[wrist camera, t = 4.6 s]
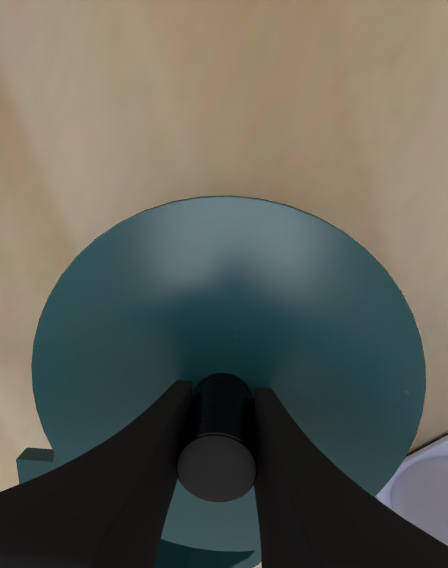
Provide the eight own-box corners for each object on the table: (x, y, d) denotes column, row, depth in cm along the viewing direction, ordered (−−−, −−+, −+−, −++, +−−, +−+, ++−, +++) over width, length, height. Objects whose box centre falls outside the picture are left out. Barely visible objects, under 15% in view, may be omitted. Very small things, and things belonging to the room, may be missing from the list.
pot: (301, 510, 24) (321, 601, 19) (72, 492, 25) (21, 573, 19) (321, 353, 21) (352, 402, 15) (59, 336, 22) (-6, 378, 16)
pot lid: (378, 539, 14) (442, 681, 10) (63, 514, 14) (-10, 637, 10) (444, 205, 10) (587, 193, 6) (30, 191, 11) (-101, 171, 7)
